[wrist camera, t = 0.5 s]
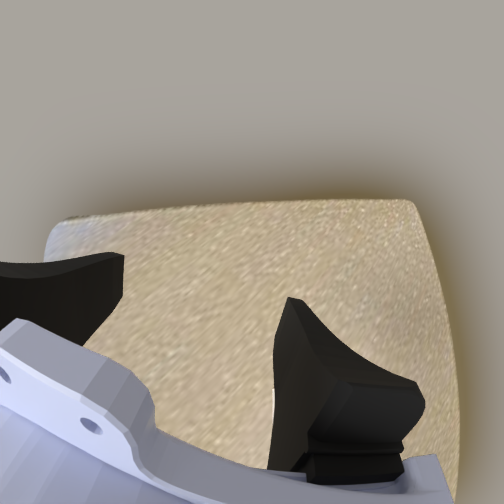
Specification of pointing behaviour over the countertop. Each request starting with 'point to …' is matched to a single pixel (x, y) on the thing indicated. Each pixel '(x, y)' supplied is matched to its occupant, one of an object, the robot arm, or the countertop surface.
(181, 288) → the countertop surface
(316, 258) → the countertop surface
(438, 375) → the countertop surface
